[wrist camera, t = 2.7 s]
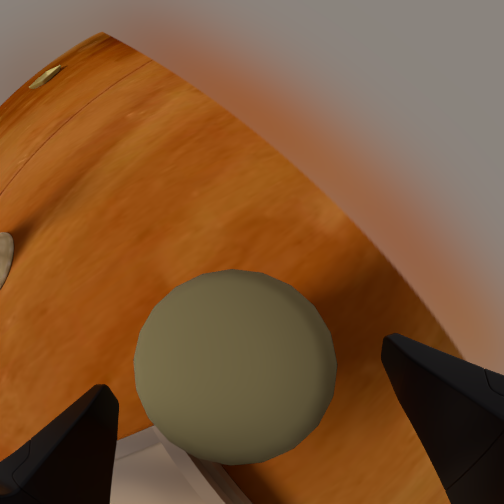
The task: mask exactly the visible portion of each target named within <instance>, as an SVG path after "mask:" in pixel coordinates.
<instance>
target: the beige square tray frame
mask: <svg viewBox="0 0 504 504" xmlns="http://www.w3.org/2000/svg"><path fill="white" fill-rule="evenodd" d="M60 68H61V65H59V66H57V67H55V68H53V69H51V70H48V71H47V72H45V73H44V74H43V75H42V76H41V77H39V78H38V79H37V80H36V81H35V82H34V83H33V84H32V85H31V86H29V88H32V89H35V88H37V87H39V86H41V85H43V84H45V83H46V82H47V81H49V80H50V79H51V78H52V77H53V76H54V75H55V74H57V73H58V72H59V70H60Z"/></svg>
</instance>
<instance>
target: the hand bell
mask: <svg viewBox="0 0 504 504" xmlns="http://www.w3.org/2000/svg"><path fill="white" fill-rule="evenodd" d="M13 252H14V243H13V239H12V236H11V235H10V234H9V233H5V232H2V233H0V289H1V287H2V285H3V283H4V282H5V280H6V277H7V275H8V273H9V270H10V267H11V263H12V258H13Z"/></svg>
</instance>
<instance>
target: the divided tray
mask: <svg viewBox="0 0 504 504" xmlns="http://www.w3.org/2000/svg"><path fill="white" fill-rule="evenodd" d="M110 504H253V503H252V502H251V501H250V500H249V499H248V498H247V497H246V496H245V494H244V493H243V492H242V491H241V490H240V488H239V487H238V486H237V485H236V484H235V482H234V481H233V480H232V479H231V477H230V476H229V475H228V474H227V472H226V471H225V470H224V468H223V467H222V466H221V464H220V463H216V462H212V461H207V460H203V459H199V458H196V457H194V456H193V455H191V454H189V453H187V452H186V451H184V450H182V449H181V448H179V447H177V446H176V445H174V444H173V443H171V442H169V441H168V440H167V438H166V437H165V436H164V435H163V434H162V433H161V432H160V431H159V430H158V428H157V427H156V426H155V425H154V426H151V427H149V428H147V429H145V430H142V431H140V432H138V433H135V434H133V435H130V436H128V437H125V438H123V439H120V440H118V441H117V445H116V452H115V460H114V467H113V476H112V485H111V496H110Z"/></svg>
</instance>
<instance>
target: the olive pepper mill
mask: <svg viewBox="0 0 504 504" xmlns="http://www.w3.org/2000/svg"><path fill="white" fill-rule="evenodd" d="M134 371H135V382H136V390H137V393H138V395H139V397H140V400H141V402H142V405H143V407H144V409H145V411H146V414H147V416H148V418H149V419H150V420H151V421H152V423H153V424H154V425H155V426H156V427H157V428H158V430H159V431H160V432H161V433H162V434H163V435H164V436H165V437H166V438H167V440H168V441H169V442H171V443H173V444H174V445H176V446H177V447H179V448H181V449H182V450H184V451H186V452H187V453H189V454H191V455H193V456H194V457H196V458H199V459H203V460H207V461H212V462H216V463H221V464H225V465H240V464H251V463H260V462H264V461H267V460H269V459H272V458H274V457H276V456H278V455H281V454H283V453H285V452H287V451H289V450H291V449H293V448H295V447H296V446H297V445H298V444H299V443H300V442H301V441H302V440H304V439H305V438H306V437H307V436H308V435H309V434H310V433H311V432H312V431H313V430H314V429H315V428H316V427H317V426H318V425H319V423H320V421H321V419H322V417H323V415H324V413H325V412H326V410H327V408H328V406H329V404H330V402H331V400H332V398H333V394H334V387H335V380H336V372H337V361H336V356H335V351H334V346H333V342H332V337H331V333H330V331H329V330H328V328H327V326H326V324H325V323H324V321H323V319H322V318H321V316H320V314H319V313H318V311H317V309H316V308H315V306H314V305H313V304H312V303H310V302H309V301H308V300H307V299H306V298H305V297H304V296H302V295H301V294H300V293H299V292H298V291H297V290H296V289H294V288H293V287H292V286H291V285H289V284H287V283H284V282H282V281H280V280H277V279H275V278H273V277H271V276H268V275H266V274H264V273H259V272H251V271H243V270H235V269H230V270H224V271H218V272H212V273H206V274H202V275H199V276H197V277H195V278H193V279H191V280H189V281H187V282H185V283H183V284H181V285H179V286H177V287H175V288H174V289H173V290H172V291H171V292H170V293H169V294H168V295H167V296H166V297H164V298H163V299H162V300H161V301H160V302H159V303H158V304H157V305H156V306H155V307H154V308H153V310H152V312H151V314H150V315H149V317H148V319H147V320H146V322H145V324H144V326H143V327H142V329H141V331H140V334H139V338H138V342H137V347H136V351H135V356H134Z"/></svg>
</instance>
